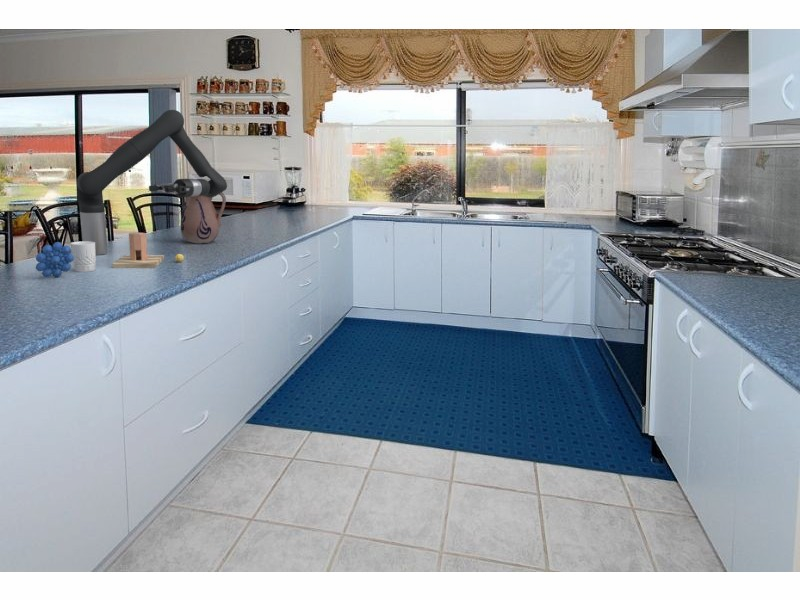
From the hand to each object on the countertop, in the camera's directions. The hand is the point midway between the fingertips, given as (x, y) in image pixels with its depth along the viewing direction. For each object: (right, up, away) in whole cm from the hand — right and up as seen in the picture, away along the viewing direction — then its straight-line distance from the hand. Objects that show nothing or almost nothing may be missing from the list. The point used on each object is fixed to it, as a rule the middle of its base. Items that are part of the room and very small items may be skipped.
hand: (157, 189), depth 246 cm
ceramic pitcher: (+1, -16, +56) cm, 58 cm away
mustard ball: (+8, -27, +2) cm, 28 cm away
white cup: (-18, -33, -21) cm, 43 cm away
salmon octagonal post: (-6, -28, -4) cm, 29 cm away
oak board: (-6, -29, -3) cm, 30 cm away
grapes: (-22, -36, -33) cm, 54 cm away
